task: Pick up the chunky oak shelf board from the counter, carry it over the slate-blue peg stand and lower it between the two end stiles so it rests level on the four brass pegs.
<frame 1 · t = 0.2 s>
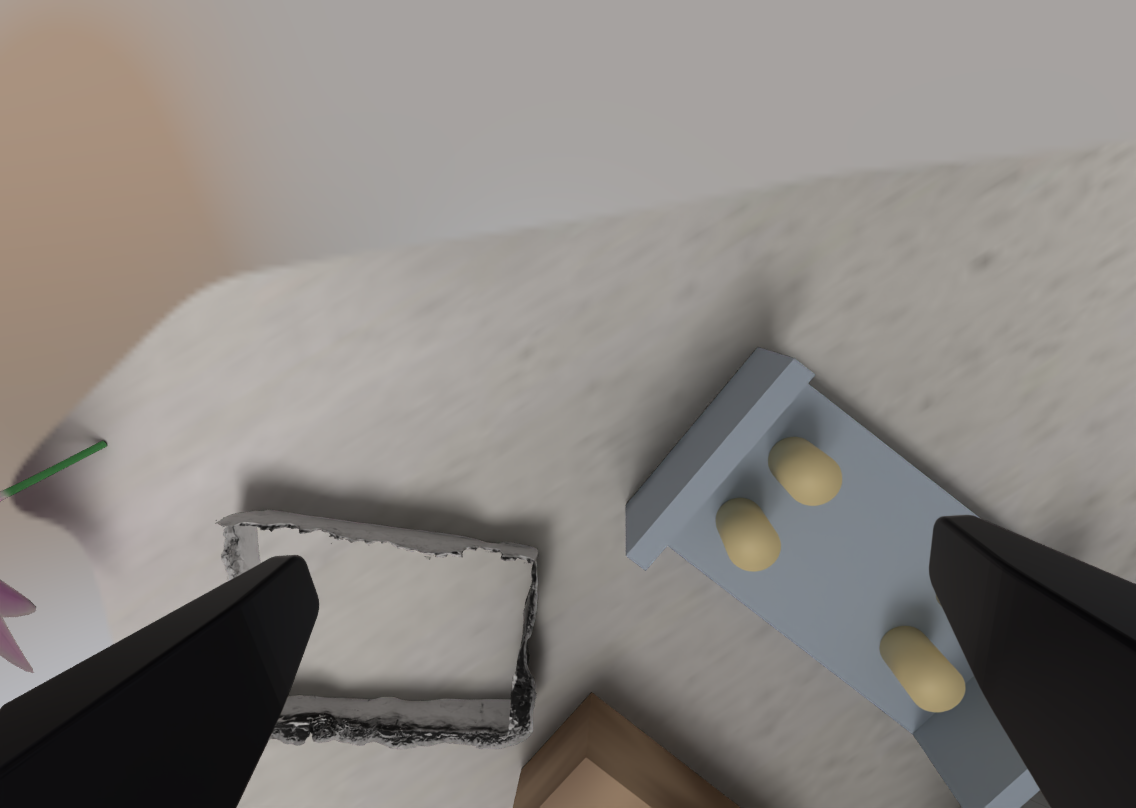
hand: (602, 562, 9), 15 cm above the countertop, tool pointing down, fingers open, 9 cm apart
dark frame: (397, 614, 27), on the countertop
peg stand: (840, 545, 24), on the countertop
lily: (45, 494, 27), on the countertop
shelf board: (654, 803, 27), on the countertop
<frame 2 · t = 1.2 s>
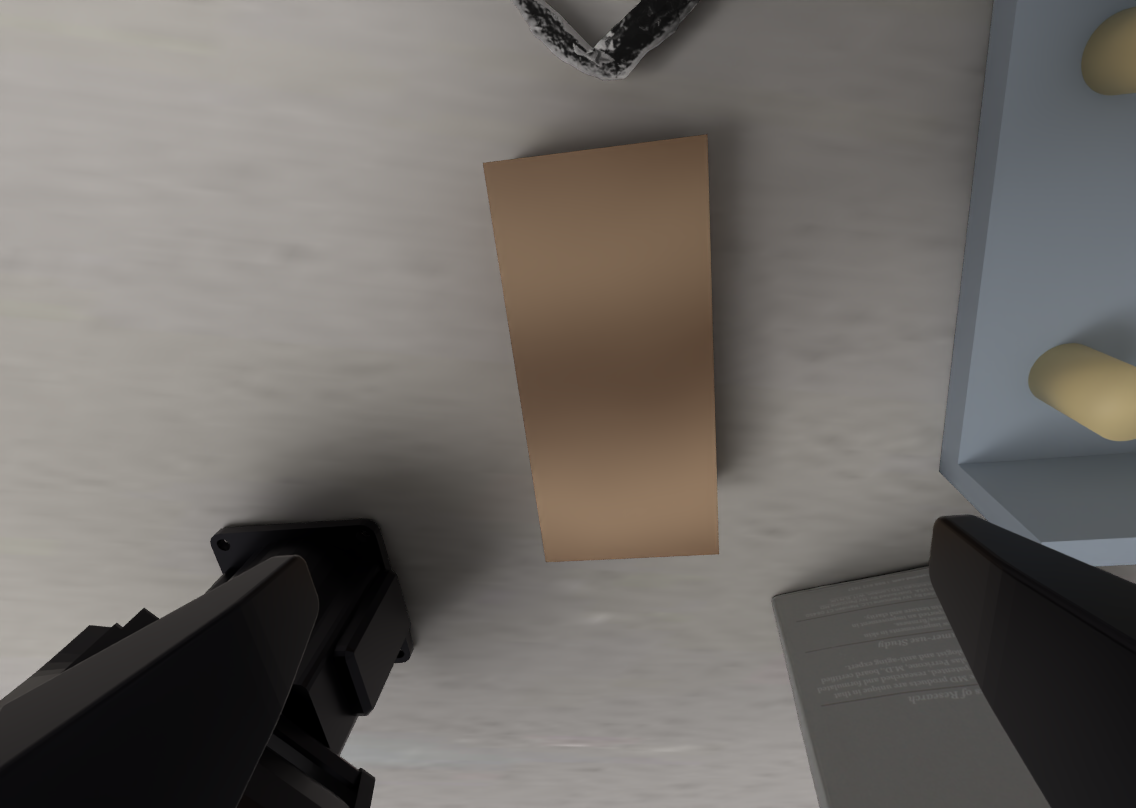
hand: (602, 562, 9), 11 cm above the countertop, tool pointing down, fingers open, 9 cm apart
skincare box: (862, 652, 23), on the countertop
peg stand: (1125, 217, 16), on the countertop
shelf board: (615, 336, 19), on the countertop
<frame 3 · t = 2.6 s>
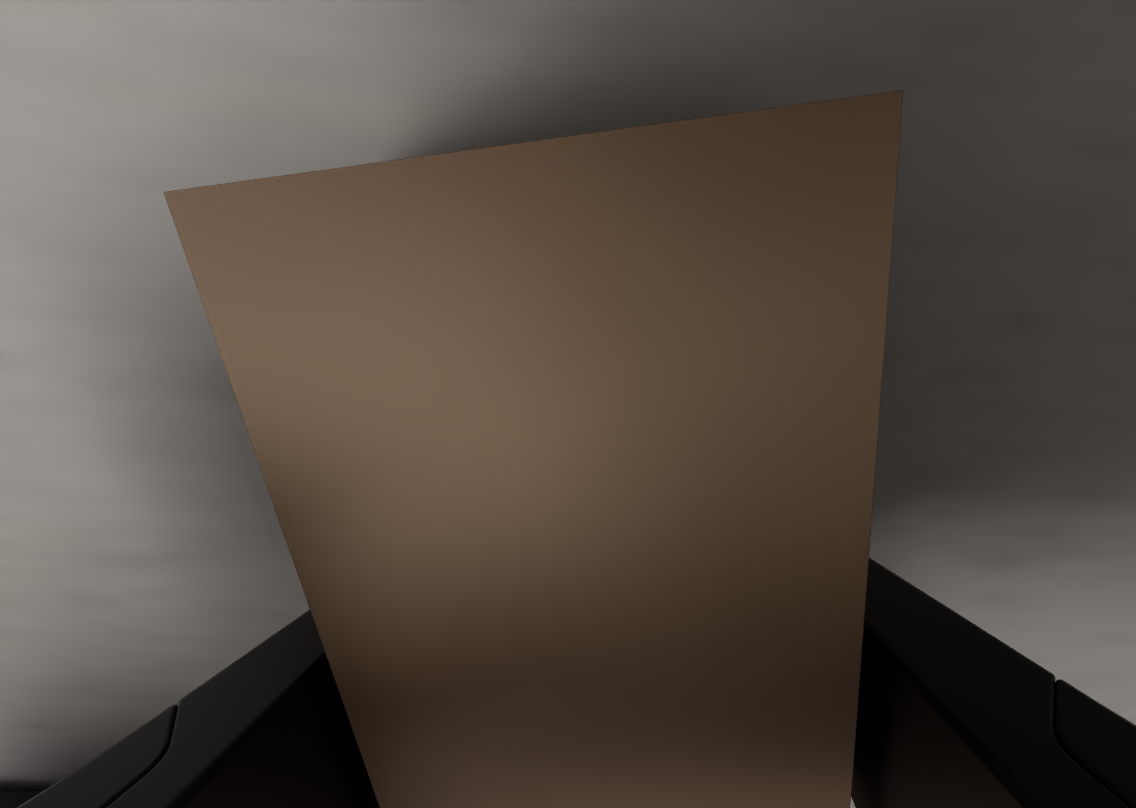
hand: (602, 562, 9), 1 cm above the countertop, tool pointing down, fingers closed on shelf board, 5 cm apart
shelf board: (604, 517, 10), on the countertop, touching gripper
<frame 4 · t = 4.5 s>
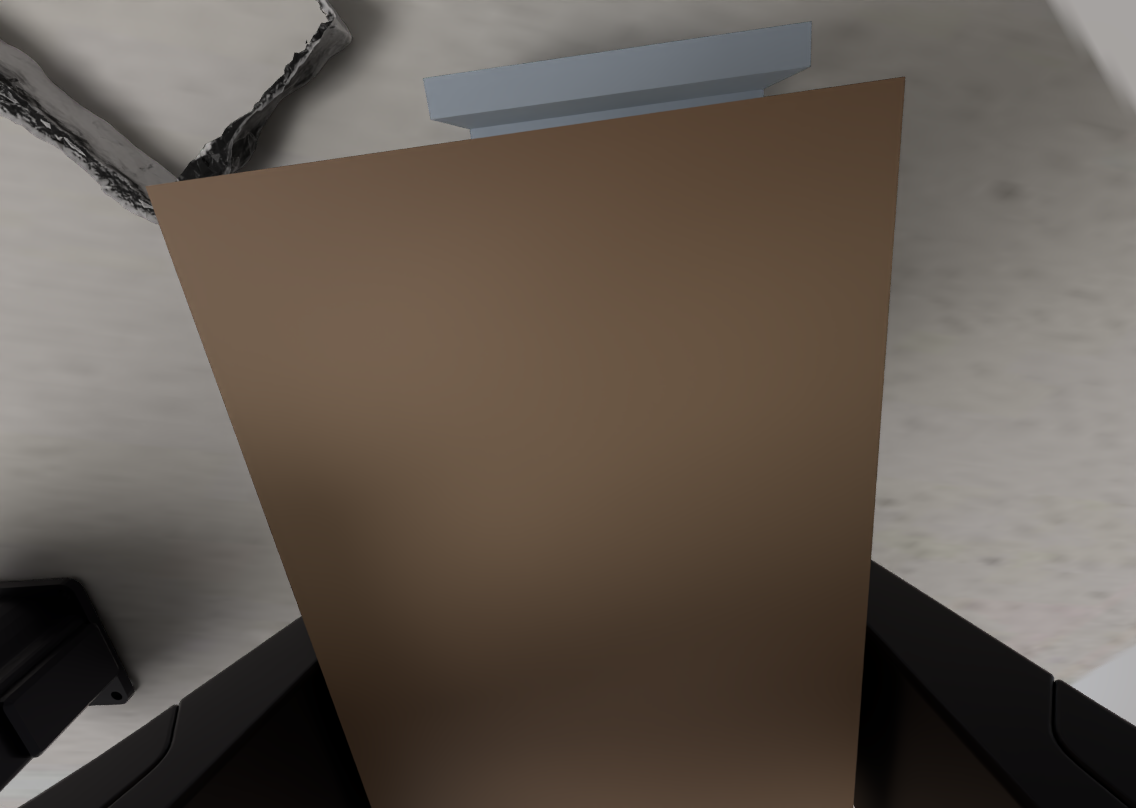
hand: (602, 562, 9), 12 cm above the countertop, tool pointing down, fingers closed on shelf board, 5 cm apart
peg stand: (631, 337, 20), on the countertop
shelf board: (602, 518, 10), point 11 cm above the countertop, touching gripper
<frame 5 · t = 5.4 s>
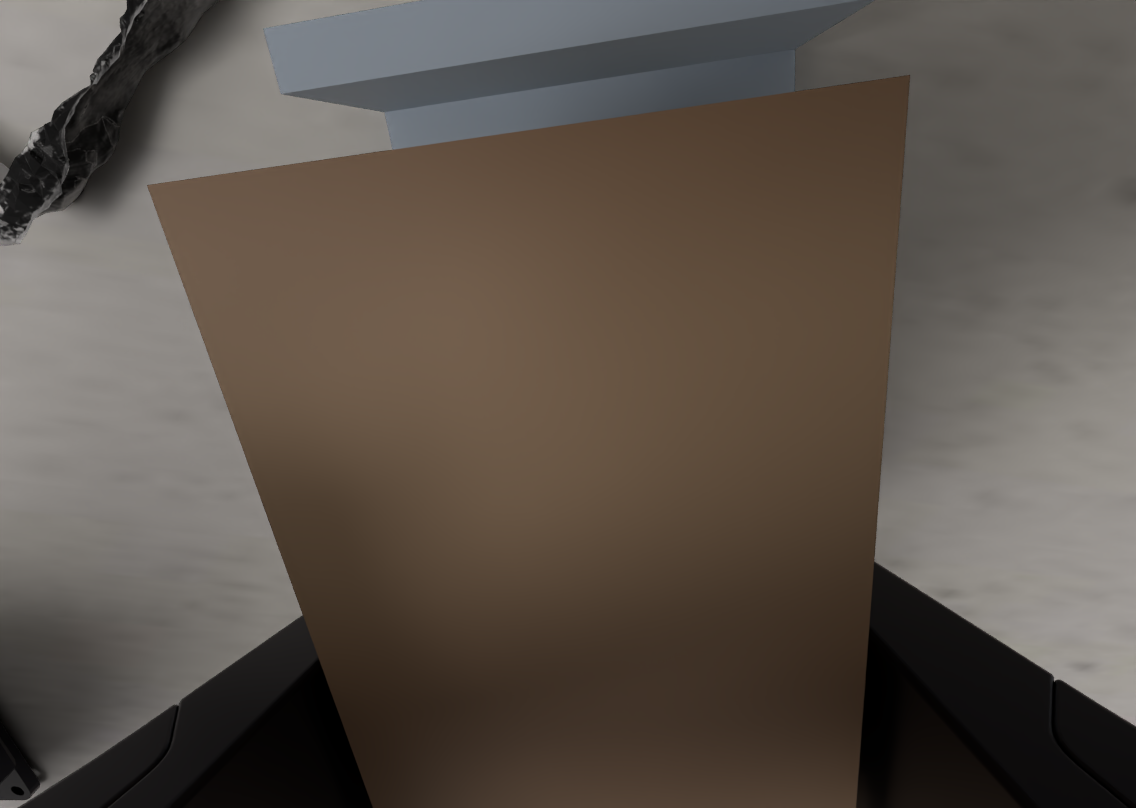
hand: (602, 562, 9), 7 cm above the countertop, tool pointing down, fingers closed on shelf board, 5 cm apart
peg stand: (615, 386, 15), on the countertop
shelf board: (603, 518, 10), point 6 cm above the countertop, touching gripper
when the fingers open (5 cm above the countertop, at t = 6.1 s): shelf board stays where it is, resting on peg stand.
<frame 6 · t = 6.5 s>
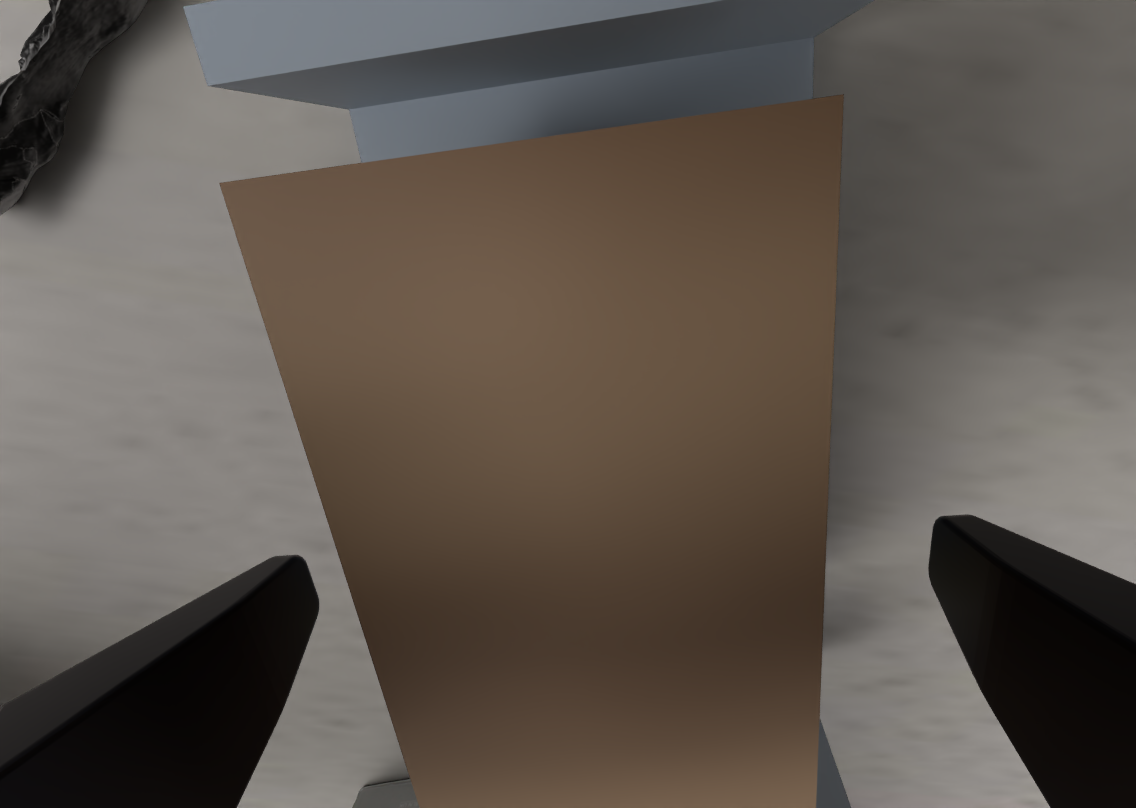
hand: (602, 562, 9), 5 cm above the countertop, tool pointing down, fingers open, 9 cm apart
peg stand: (610, 411, 14), on the countertop
shelf board: (600, 489, 10), point 3 cm above the countertop, touching peg stand
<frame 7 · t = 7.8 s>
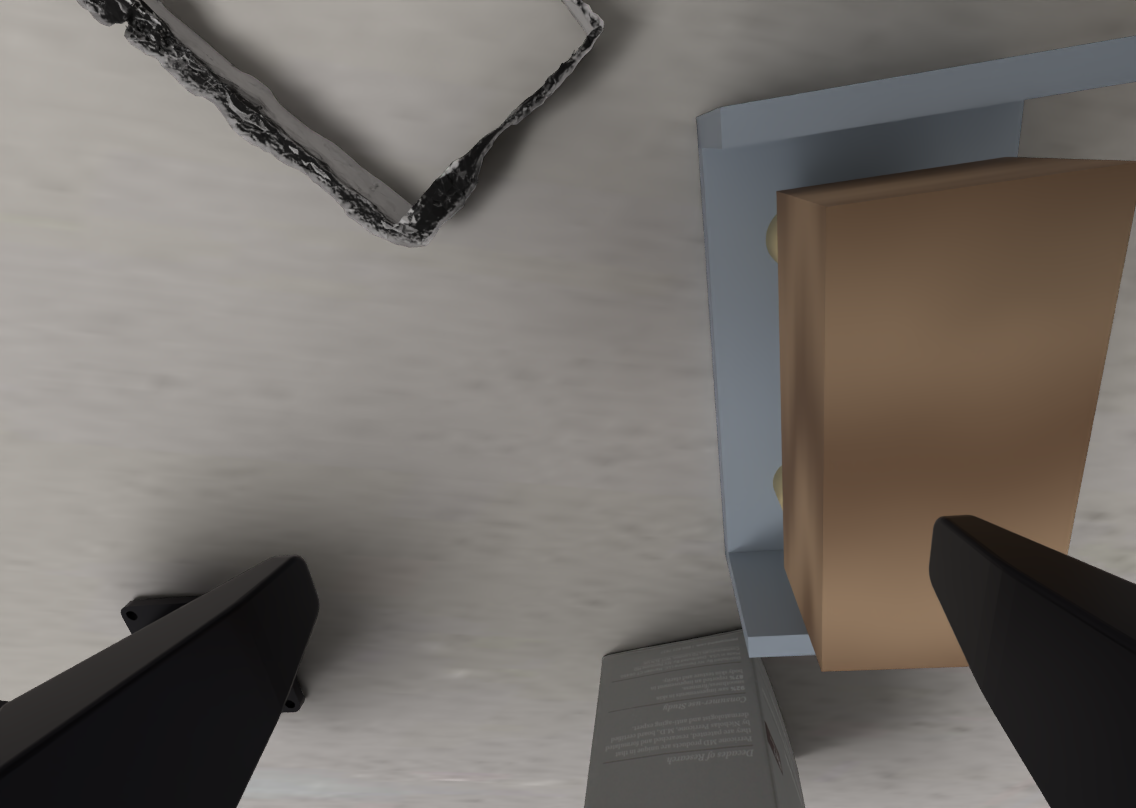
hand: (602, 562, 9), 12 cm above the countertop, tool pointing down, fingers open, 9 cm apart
skincare box: (690, 701, 26), on the countertop
peg stand: (840, 352, 19), on the countertop
shelf board: (878, 393, 16), point 3 cm above the countertop, touching peg stand
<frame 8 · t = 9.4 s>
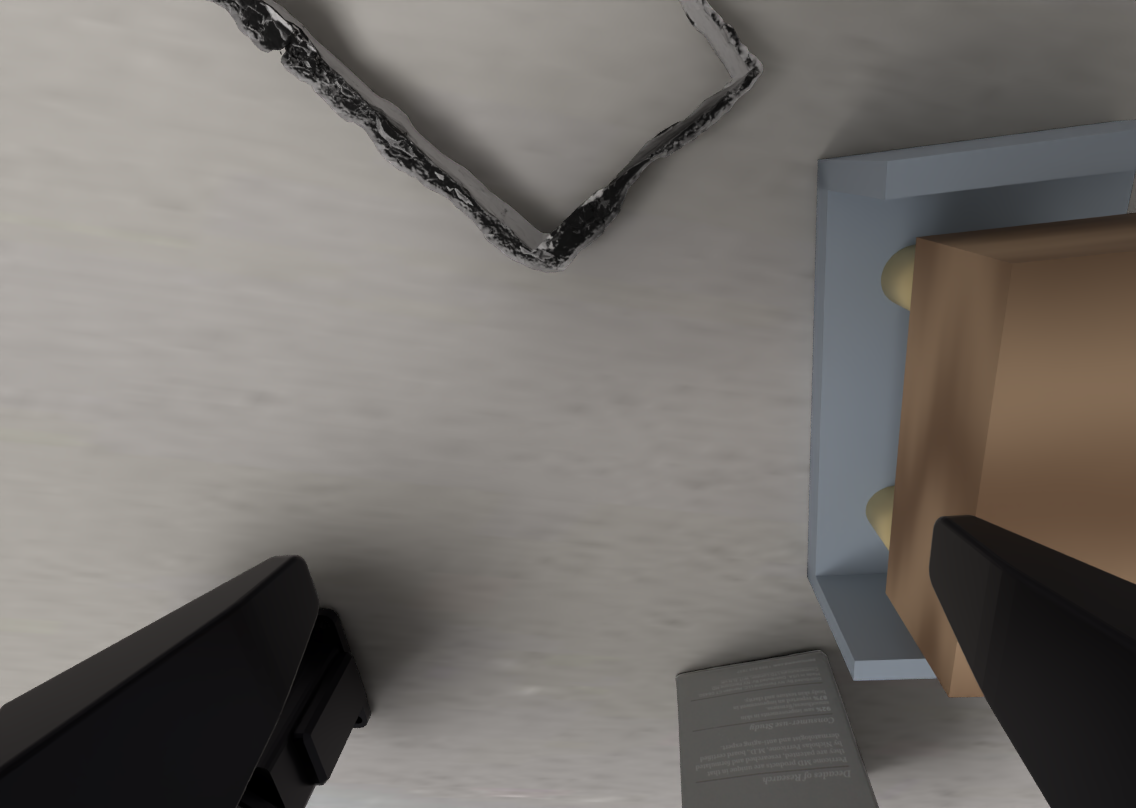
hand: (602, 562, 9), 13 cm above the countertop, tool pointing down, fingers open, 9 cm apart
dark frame: (488, 19, 18), on the countertop
skincare box: (757, 720, 27), on the countertop
peg stand: (937, 385, 20), on the countertop
shelf board: (994, 429, 17), point 3 cm above the countertop, touching peg stand
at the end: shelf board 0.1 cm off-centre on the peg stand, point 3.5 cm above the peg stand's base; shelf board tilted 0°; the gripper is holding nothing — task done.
